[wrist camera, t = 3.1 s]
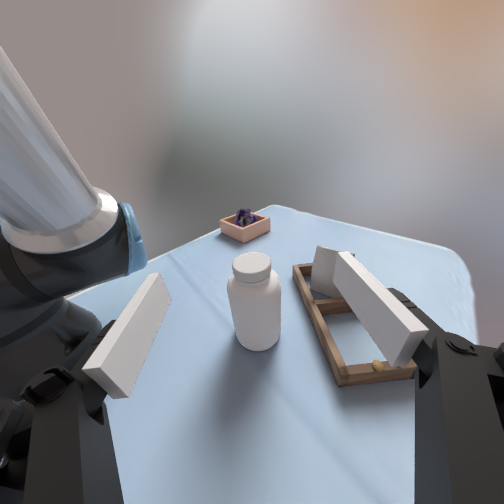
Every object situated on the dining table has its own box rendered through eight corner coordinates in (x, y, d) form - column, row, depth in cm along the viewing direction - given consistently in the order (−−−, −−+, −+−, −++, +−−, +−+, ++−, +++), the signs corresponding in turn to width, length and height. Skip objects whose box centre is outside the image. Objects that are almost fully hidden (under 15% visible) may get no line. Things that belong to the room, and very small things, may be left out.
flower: (224, 212, 71) (239, 204, 63) (242, 215, 76) (258, 208, 69) (226, 236, 70) (241, 230, 62) (244, 237, 75) (260, 232, 68)
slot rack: (432, 376, 24) (444, 362, 22) (338, 387, 24) (342, 374, 22) (342, 269, 45) (345, 257, 43) (292, 274, 45) (292, 263, 43)
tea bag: (342, 301, 36) (352, 259, 31) (309, 288, 40) (313, 249, 35) (347, 290, 39) (357, 250, 34) (316, 279, 42) (320, 242, 37)
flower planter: (244, 243, 62) (242, 229, 59) (221, 232, 71) (219, 220, 68) (270, 230, 69) (270, 217, 66) (246, 222, 78) (245, 210, 75)
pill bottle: (275, 359, 28) (272, 284, 20) (228, 345, 30) (210, 274, 23) (285, 317, 34) (285, 248, 26) (245, 309, 37) (235, 244, 29)
